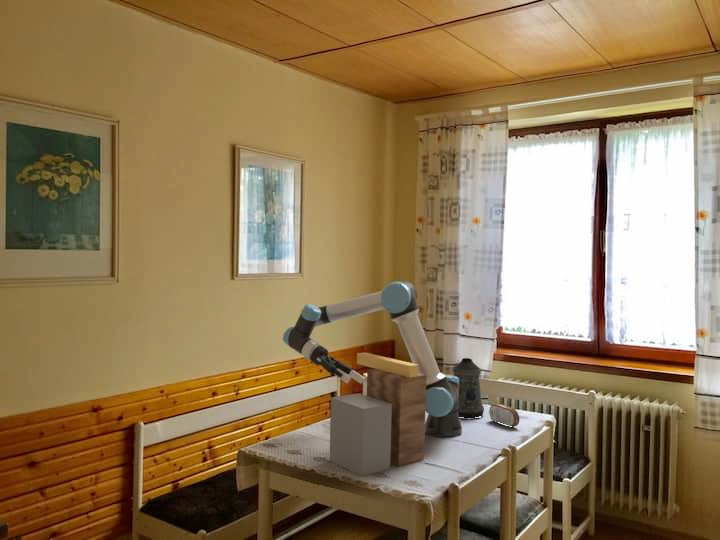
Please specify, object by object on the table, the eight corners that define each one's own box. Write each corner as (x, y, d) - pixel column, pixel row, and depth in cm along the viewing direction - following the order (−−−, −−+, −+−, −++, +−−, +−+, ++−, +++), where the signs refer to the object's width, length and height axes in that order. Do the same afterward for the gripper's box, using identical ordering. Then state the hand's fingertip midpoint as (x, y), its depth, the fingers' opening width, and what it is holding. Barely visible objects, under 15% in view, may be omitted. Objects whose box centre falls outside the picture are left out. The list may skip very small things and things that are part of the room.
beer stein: (459, 420, 269) (461, 363, 268) (436, 409, 287) (438, 356, 286) (491, 417, 276) (493, 361, 275) (466, 407, 294) (468, 354, 293)
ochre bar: (356, 363, 235) (357, 353, 234) (365, 362, 237) (365, 352, 237) (409, 377, 212) (410, 365, 212) (418, 376, 215) (418, 364, 214)
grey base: (329, 460, 214) (331, 397, 214) (356, 454, 222) (358, 393, 221) (362, 476, 200) (364, 408, 200) (389, 468, 208) (391, 403, 207)
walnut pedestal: (365, 452, 225) (367, 369, 223) (389, 446, 232) (392, 366, 231) (398, 466, 211) (401, 378, 210) (423, 459, 218) (426, 374, 217)
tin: (519, 429, 260) (520, 409, 259) (514, 430, 258) (515, 410, 257) (492, 420, 272) (493, 401, 272) (487, 421, 270) (488, 402, 270)
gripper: (324, 362, 262) (363, 389, 253) (296, 359, 240) (338, 389, 231) (333, 346, 262) (372, 373, 253) (305, 342, 239) (348, 371, 230)
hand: (356, 380), depth 242 cm, fingers open, 13 cm apart
